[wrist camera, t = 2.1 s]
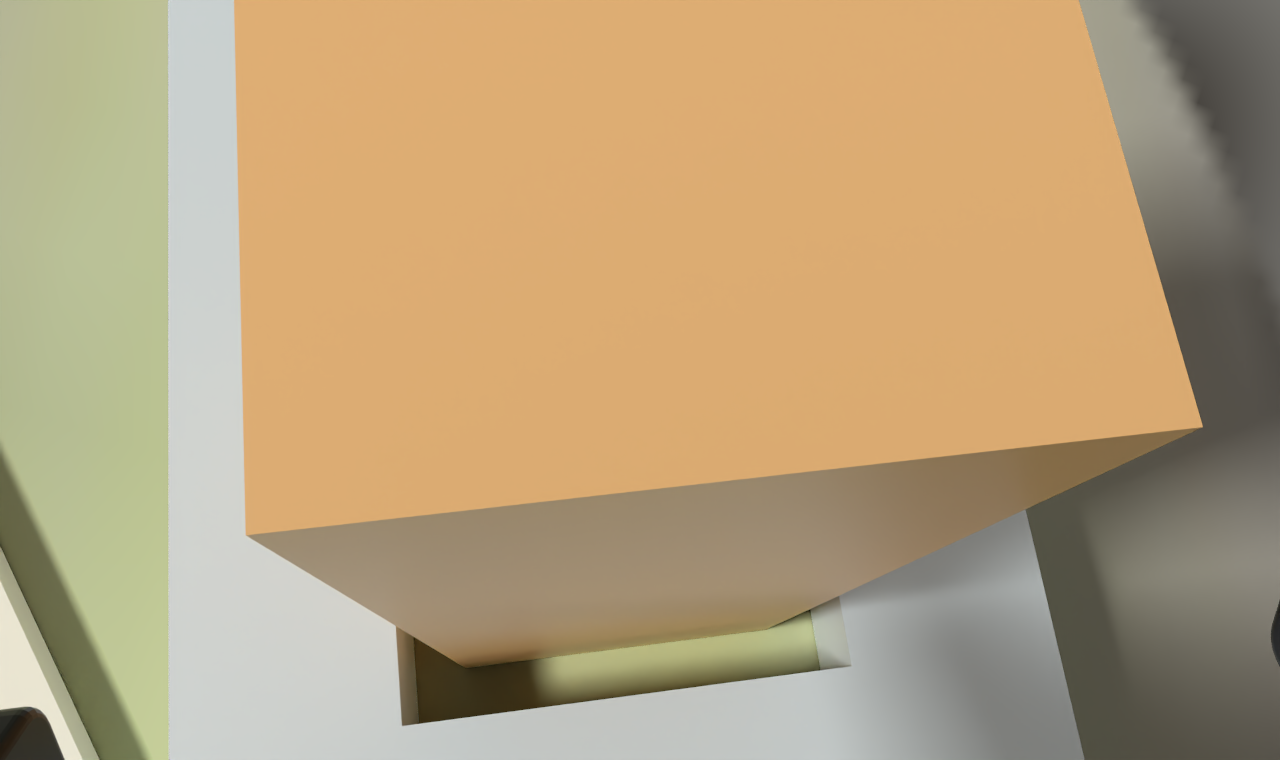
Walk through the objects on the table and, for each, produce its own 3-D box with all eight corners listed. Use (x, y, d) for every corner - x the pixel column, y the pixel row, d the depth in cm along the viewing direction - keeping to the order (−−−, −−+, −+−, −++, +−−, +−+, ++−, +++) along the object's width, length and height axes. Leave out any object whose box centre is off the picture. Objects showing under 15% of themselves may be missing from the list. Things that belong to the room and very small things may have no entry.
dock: (1049, 850, 17) (1120, 869, 15) (215, 980, 16) (160, 1021, 14) (844, -75, 23) (875, -160, 20) (203, -37, 21) (162, -124, 19)
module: (765, 629, 18) (1202, 426, 6) (466, 668, 18) (244, 533, 5) (721, 349, 20) (994, -287, 7) (442, 377, 19) (229, -259, 7)
